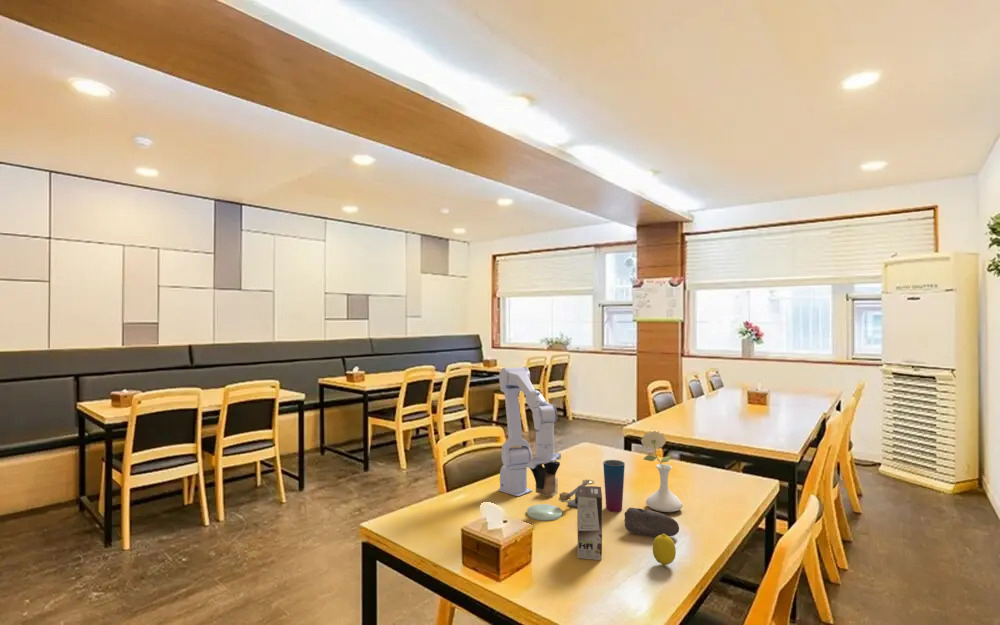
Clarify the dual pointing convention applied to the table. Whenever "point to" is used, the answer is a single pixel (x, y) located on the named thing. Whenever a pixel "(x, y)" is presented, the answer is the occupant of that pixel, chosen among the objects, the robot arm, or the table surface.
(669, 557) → the lemon
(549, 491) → the walnut block
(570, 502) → the balance
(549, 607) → the table surface
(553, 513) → the dish
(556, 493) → the maple block
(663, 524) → the perforated stone tool
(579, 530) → the coffee box
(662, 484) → the flower in vase
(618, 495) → the cup
